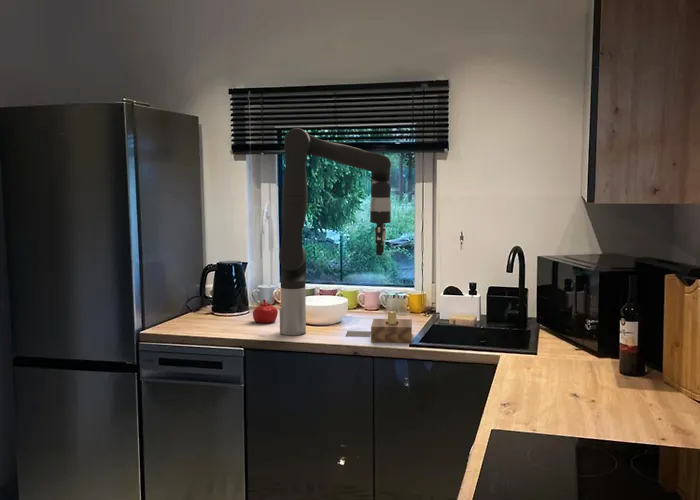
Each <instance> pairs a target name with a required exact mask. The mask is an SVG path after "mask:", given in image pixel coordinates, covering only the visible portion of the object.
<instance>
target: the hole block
mask: <svg viewBox="0 0 700 500" xmlns="http://www.w3.org/2000/svg"><path fill="white" fill-rule="evenodd" d="M412 319H413V318H412ZM412 319H411V318H410V319H409V318H408V319H407V318H396V324H388V318H373V319H372V323H371V325H370V331H371V335H370V343H375V344H377V343H378V344H412V338H413V337H412V335H413V332H412V331H413V329H412V328H413V320H412Z"/></svg>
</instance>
